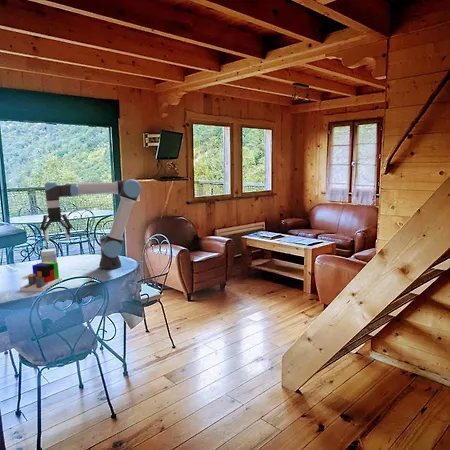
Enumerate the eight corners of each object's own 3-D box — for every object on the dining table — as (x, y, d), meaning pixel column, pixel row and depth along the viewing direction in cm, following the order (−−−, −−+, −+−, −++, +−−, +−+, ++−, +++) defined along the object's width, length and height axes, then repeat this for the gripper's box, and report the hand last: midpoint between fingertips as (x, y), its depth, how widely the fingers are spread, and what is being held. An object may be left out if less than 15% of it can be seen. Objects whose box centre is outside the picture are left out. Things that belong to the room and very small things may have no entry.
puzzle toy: (33, 281, 233) (32, 265, 232) (46, 277, 243) (44, 261, 241) (46, 282, 230) (45, 266, 229) (59, 278, 239) (57, 262, 238)
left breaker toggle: (44, 285, 224) (43, 277, 224) (41, 286, 221) (40, 279, 221) (39, 285, 225) (38, 277, 224) (36, 286, 222) (35, 279, 221)
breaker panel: (62, 280, 241) (61, 277, 241) (43, 291, 221) (42, 287, 220) (41, 280, 243) (40, 277, 242) (20, 291, 222) (19, 287, 222)
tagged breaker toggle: (36, 282, 230) (36, 273, 230) (33, 283, 227) (32, 275, 226) (31, 282, 231) (31, 273, 230) (28, 283, 228) (27, 275, 227)
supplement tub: (58, 271, 264) (57, 250, 262) (43, 273, 259) (41, 252, 256) (56, 268, 272) (54, 248, 270) (41, 270, 267) (39, 250, 264)
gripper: (75, 205, 244) (79, 238, 248) (37, 207, 246) (42, 239, 250) (70, 207, 237) (73, 240, 241) (31, 208, 239) (35, 242, 242)
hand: (57, 240), depth 245 cm, fingers open, 13 cm apart
